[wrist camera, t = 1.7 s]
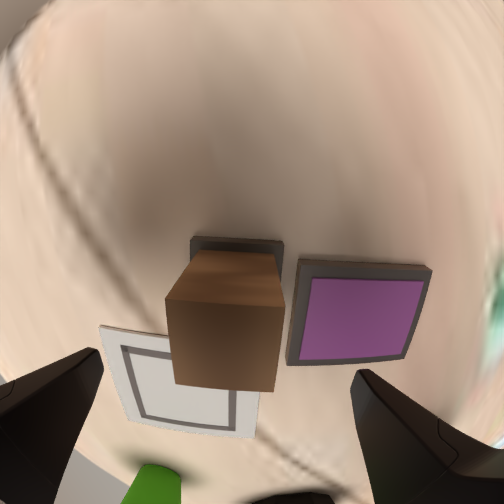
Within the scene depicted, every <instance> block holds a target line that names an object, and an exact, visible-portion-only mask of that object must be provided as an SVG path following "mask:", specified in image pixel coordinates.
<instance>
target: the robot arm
mask: <svg viewBox="0 0 504 504" xmlns="http://www.w3.org/2000/svg"><path fill="white" fill-rule="evenodd" d="M103 372H104V366H103V363H102V359H101V356H100V353H99V351H98V350H97V349H95V348H90V347H87V348H85V349H83V350H80V351H78V352H76V353H74V354H72V355H69V356H67V357H65V358H63V359H60V360H58V361H56V362H54V363H52V364H49V365H47V366H45V367H42V368H40V369H38V370H36V371H33V372H31V373H29V374H27V375H24V376H22V377H20V378H17V379H16V380H13V381H10V382H8V383H6V384H3V385H1V386H0V504H54V501H55V498H56V495H57V491H58V488H59V485H60V482H61V480H62V477H63V474H64V471H65V469H66V466H67V463H68V461H69V458H70V456H71V453H72V451H73V448H74V446H75V443H76V441H77V439H78V436H79V434H80V431H81V429H82V427H83V425H84V422H85V420H86V418H87V416H88V413H89V411H90V409H91V407H92V404H93V401H94V399H95V396H96V393H97V390H98V387H99V384H100V381H101V378H102V375H103ZM350 393H351V399H352V406H353V412H354V419H355V425H356V430H357V434H358V437H359V441H360V445H361V449H362V452H363V456H364V460H365V464H366V468H367V472H368V476H369V480H370V484H371V489H372V493H373V497H374V502H375V504H504V449H496V448H493V447H490V446H488V445H486V444H484V443H482V442H480V441H478V440H476V439H474V438H472V437H470V436H468V435H466V434H464V433H462V432H461V431H459V430H457V429H455V428H454V427H452V426H451V425H449V424H447V423H446V422H444V421H443V420H441V419H440V418H438V417H437V416H435V415H434V414H432V413H431V412H430V411H428V410H427V409H425V408H424V407H422V406H421V405H419V404H418V403H416V402H415V401H414V400H412V399H411V398H409V397H408V396H406V395H405V394H404V393H402V392H401V391H399V390H398V389H396V388H395V387H394V386H392V385H391V384H389V383H388V382H387V381H385V380H384V379H382V378H381V377H380V376H378V375H377V374H375V373H374V372H373V371H371V370H370V369H359V370H357V372H356V374H355V376H354V379H353V382H352V385H351V388H350Z"/></svg>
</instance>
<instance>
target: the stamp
mask: <svg viewBox="0 0 504 504" xmlns="http://www.w3.org/2000/svg"><path fill="white" fill-rule="evenodd" d="M283 252H284V244H283V241H275V240H258V239H241V238H222V237H203V236H193V238H192V239H191V240H190V263H189V265H188V266H187V267H186V269H185V270H184V272H183V273H182V275H181V276H180V277H179V279H178V280H177V282H176V283H175V285H174V286H173V288H172V289H171V290H170V292H169V293H168V295H167V296H166V298H165V305H166V316H167V326H168V335H169V344H170V352H171V359H172V366H173V373H174V379H175V384H178V385H185V386H192V387H201V388H210V389H221V390H233V391H251V392H274V386H275V380H276V373H277V366H278V360H279V352H280V345H281V338H282V330H283V323H284V315H285V302H284V298H283V293H282V288H281V284H280V283H281V273H282V263H283Z"/></svg>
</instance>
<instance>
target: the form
mask: <svg viewBox="0 0 504 504" xmlns="http://www.w3.org/2000/svg"><path fill="white" fill-rule="evenodd" d="M98 328H99V332H100V336H101V340H102V344H103V348H104V351H105V355H106V358H107V362H108V365H109V368H110V372H111V375H112V378H113V381H114V384H115V387H116V390H117V392H118V395H119V398H120V401H121V403H122V406H123V409H124V411H125V414H126V416H127V419H128V420H129V421H133V422H137V423H141V424H145V425H150V426H155V427H159V428H164V429H170V430H175V431H182V432H188V433H195V434H203V435H212V436H222V437H235V438H254V437H255V429H256V420H257V412H258V403H259V394H260V392H251V391H233V390H221V389H210V388H201V387H192V386H185V385H178V384H175V379H174V373H173V366H172V359H171V352H170V344H169V336H161V335H154V334H147V333H141V332H134V331H128V330H122V329H117V328H111V327H106V326H101V325H100V326H99V327H98Z"/></svg>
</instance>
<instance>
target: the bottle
mask: <svg viewBox="0 0 504 504" xmlns="http://www.w3.org/2000/svg"><path fill="white" fill-rule="evenodd" d="M252 504H335V503H334V502H333V500H332V499H331V497H330V496H329V495H325V494H317V493H302V494H291V495H277V496H273V497H270V498H267V499H264V500H261V501H258V502H255V503H252Z"/></svg>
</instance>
